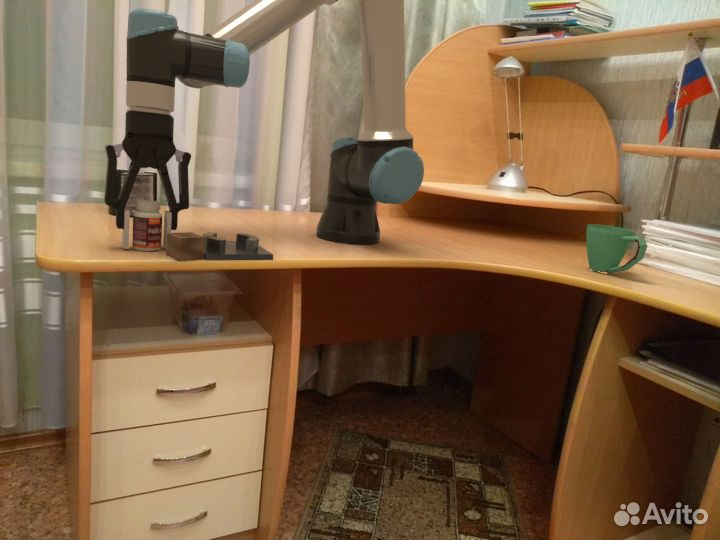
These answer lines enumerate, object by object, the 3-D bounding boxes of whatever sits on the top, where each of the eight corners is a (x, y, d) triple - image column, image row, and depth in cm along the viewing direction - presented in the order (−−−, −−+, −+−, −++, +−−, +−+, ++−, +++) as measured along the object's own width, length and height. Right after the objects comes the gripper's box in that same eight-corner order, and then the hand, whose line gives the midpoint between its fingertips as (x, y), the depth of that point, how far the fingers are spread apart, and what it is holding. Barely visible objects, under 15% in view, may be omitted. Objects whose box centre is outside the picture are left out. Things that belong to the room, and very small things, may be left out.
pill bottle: (151, 253, 93) (152, 204, 91) (126, 249, 94) (127, 200, 92) (166, 248, 97) (168, 202, 96) (142, 245, 98) (143, 198, 96)
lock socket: (251, 246, 108) (252, 229, 107) (272, 259, 98) (274, 241, 97) (189, 245, 102) (190, 228, 101) (205, 260, 92) (206, 240, 91)
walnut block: (190, 254, 95) (191, 232, 94) (203, 260, 92) (204, 237, 91) (166, 256, 92) (166, 233, 91) (178, 262, 89) (179, 238, 88)
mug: (568, 266, 125) (577, 223, 123) (600, 266, 129) (609, 225, 127) (620, 282, 112) (630, 235, 110) (653, 283, 116) (664, 237, 114)
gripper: (202, 118, 98) (196, 244, 103) (84, 103, 89) (84, 242, 94) (213, 119, 92) (206, 252, 97) (87, 103, 82) (87, 252, 87)
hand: (146, 247), depth 95 cm, fingers open, 6 cm apart
